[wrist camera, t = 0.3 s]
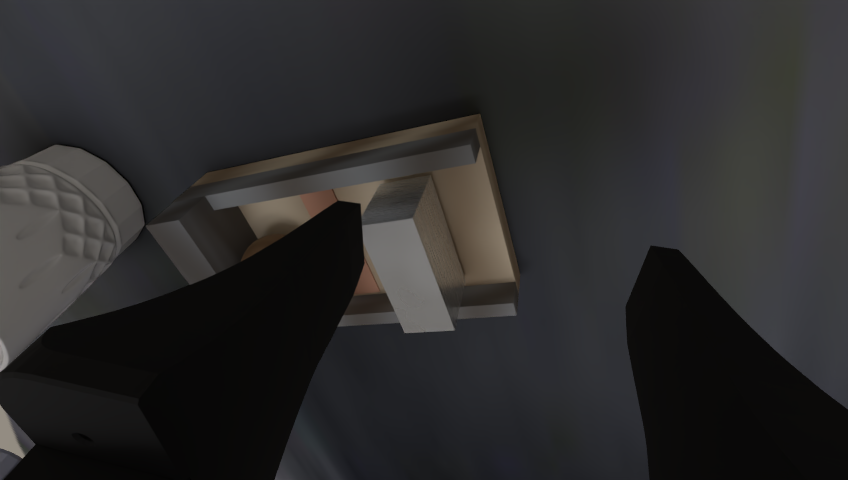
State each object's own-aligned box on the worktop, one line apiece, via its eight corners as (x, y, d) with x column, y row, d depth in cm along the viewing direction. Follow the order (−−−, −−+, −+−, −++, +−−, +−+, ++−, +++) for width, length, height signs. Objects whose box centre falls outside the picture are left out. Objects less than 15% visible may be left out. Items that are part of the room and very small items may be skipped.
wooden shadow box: (480, 113, 20) (462, 171, 16) (520, 274, 25) (514, 349, 21) (207, 172, 25) (142, 227, 21) (283, 296, 30) (242, 359, 26)
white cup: (64, 236, 31) (-99, 355, 23) (3, 124, 26) (-228, 227, 18) (171, 256, 30) (37, 388, 22) (128, 143, 25) (-62, 261, 17)
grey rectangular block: (430, 175, 20) (412, 218, 17) (465, 280, 23) (454, 330, 21) (379, 184, 21) (355, 226, 18) (420, 284, 24) (404, 333, 21)
